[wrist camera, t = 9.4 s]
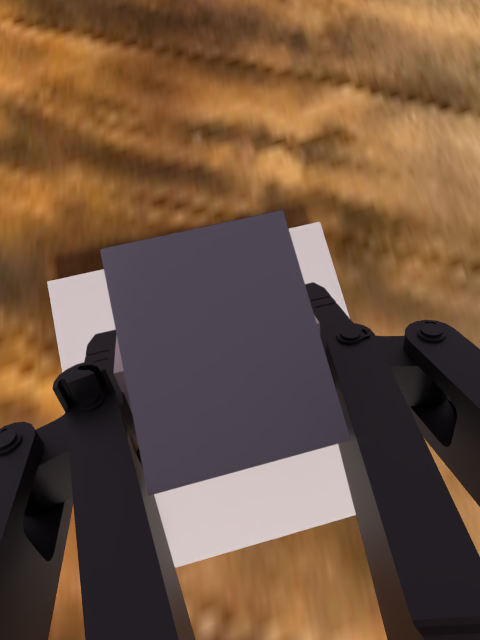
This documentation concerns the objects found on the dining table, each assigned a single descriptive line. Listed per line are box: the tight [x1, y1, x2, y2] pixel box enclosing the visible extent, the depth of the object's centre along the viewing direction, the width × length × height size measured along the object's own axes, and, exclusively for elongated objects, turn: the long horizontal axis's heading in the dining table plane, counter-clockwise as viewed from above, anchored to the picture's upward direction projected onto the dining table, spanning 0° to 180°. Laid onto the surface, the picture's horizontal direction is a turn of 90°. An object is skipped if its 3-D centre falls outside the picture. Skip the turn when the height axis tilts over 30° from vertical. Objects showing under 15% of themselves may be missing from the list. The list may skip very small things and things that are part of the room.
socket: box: [47, 222, 356, 568], centre depth 31 cm, size 22×22×3 cm
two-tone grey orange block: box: [100, 210, 351, 496], centre depth 14 cm, size 5×4×11 cm
